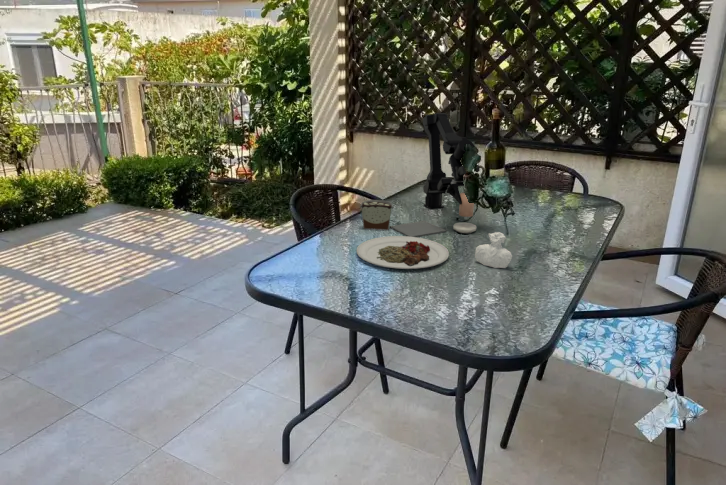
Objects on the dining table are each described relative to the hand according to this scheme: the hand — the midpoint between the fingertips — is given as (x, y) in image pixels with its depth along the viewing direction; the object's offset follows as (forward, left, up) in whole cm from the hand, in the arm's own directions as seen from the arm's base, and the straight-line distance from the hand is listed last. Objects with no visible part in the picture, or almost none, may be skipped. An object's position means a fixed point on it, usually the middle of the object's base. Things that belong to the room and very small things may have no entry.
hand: (468, 203), depth 194 cm
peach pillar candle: (0, -1, -5) cm, 5 cm away
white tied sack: (+14, +30, -11) cm, 34 cm away
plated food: (+35, +10, -11) cm, 38 cm away
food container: (+27, -20, -11) cm, 35 cm away
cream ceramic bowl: (0, -1, -11) cm, 11 cm away
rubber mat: (+15, -10, -11) cm, 21 cm away
